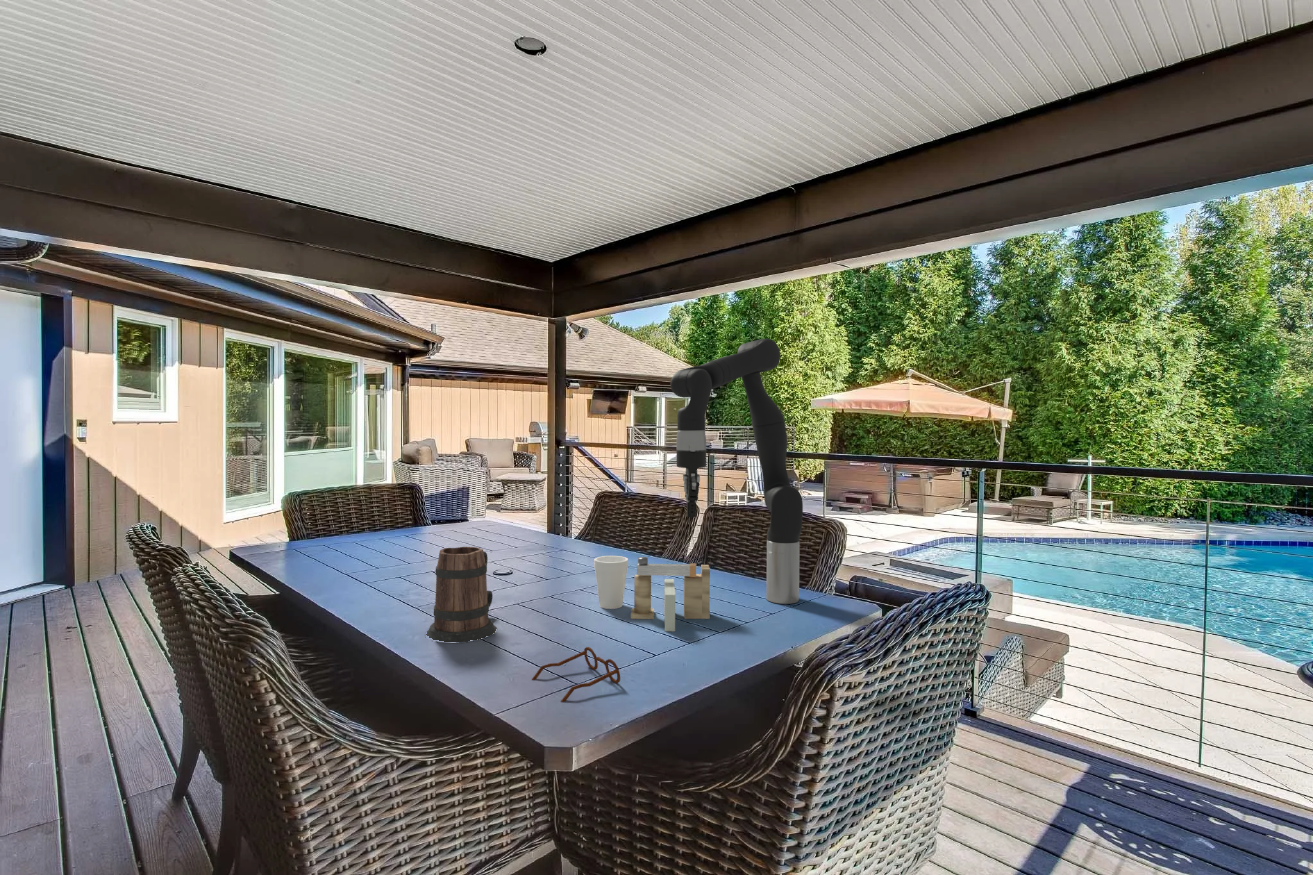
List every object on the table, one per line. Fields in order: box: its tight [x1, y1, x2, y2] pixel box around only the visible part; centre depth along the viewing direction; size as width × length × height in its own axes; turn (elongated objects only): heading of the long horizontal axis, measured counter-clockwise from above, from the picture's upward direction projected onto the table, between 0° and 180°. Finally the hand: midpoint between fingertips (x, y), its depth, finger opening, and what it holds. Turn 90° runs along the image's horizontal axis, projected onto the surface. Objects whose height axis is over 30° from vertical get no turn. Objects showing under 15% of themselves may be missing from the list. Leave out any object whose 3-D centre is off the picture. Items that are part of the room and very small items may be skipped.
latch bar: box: [636, 556, 697, 577], centre depth 172 cm, size 16×3×5 cm, turn 87°
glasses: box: [531, 646, 621, 703], centre depth 128 cm, size 13×13×5 cm
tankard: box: [426, 546, 498, 643], centre depth 161 cm, size 24×17×20 cm
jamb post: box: [630, 574, 655, 620], centre depth 172 cm, size 6×6×10 cm
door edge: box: [663, 578, 676, 632], centre depth 167 cm, size 16×2×9 cm, turn 0°
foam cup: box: [593, 555, 629, 610], centre depth 181 cm, size 10×9×13 cm
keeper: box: [683, 564, 711, 620], centre depth 172 cm, size 5×6×13 cm
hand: (691, 516), depth 165 cm, fingers closed
